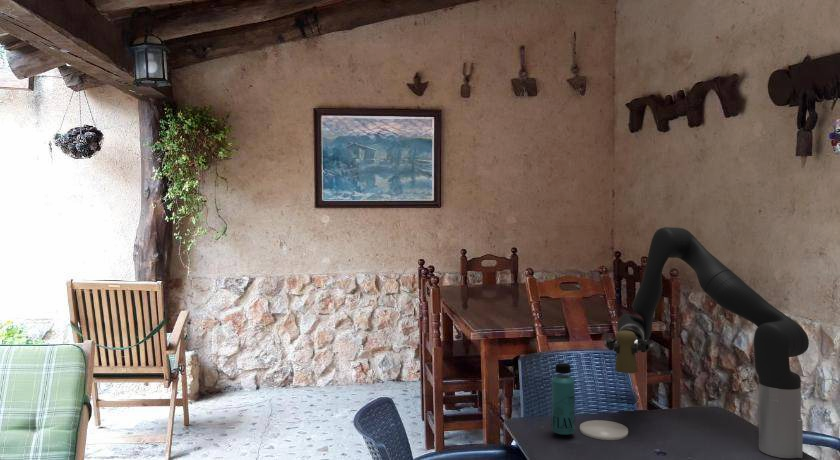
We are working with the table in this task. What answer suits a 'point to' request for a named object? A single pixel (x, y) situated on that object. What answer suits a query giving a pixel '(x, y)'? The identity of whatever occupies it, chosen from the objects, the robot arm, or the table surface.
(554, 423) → the beverage bottle
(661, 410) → the table surface
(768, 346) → the robot arm
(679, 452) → the table surface
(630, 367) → the cork
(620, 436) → the saucer
